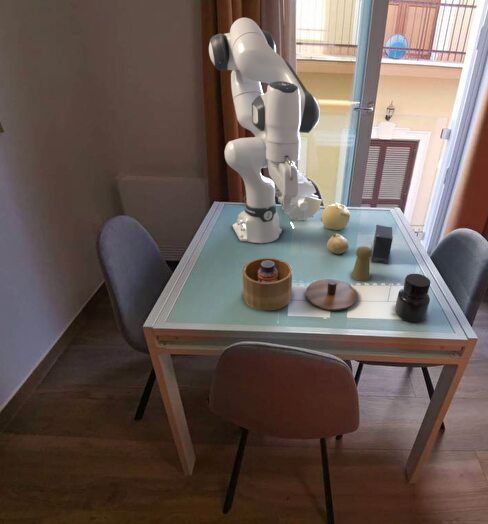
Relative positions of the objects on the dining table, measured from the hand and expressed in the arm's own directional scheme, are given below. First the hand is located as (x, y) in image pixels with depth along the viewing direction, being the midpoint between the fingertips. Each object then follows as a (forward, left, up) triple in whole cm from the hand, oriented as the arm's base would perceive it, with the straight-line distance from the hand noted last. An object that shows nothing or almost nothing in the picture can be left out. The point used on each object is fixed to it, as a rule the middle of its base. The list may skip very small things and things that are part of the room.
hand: (282, 201), depth 100 cm
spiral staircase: (-50, +38, -29) cm, 69 cm away
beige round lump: (-28, +44, -29) cm, 60 cm away
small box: (+1, +43, -29) cm, 52 cm away
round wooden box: (+2, -6, -29) cm, 30 cm away
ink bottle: (+31, +26, -29) cm, 50 cm away
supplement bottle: (+2, -6, -29) cm, 29 cm away
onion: (-10, +31, -29) cm, 44 cm away
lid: (+12, +11, -28) cm, 33 cm away
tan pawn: (+8, +27, -29) cm, 41 cm away
